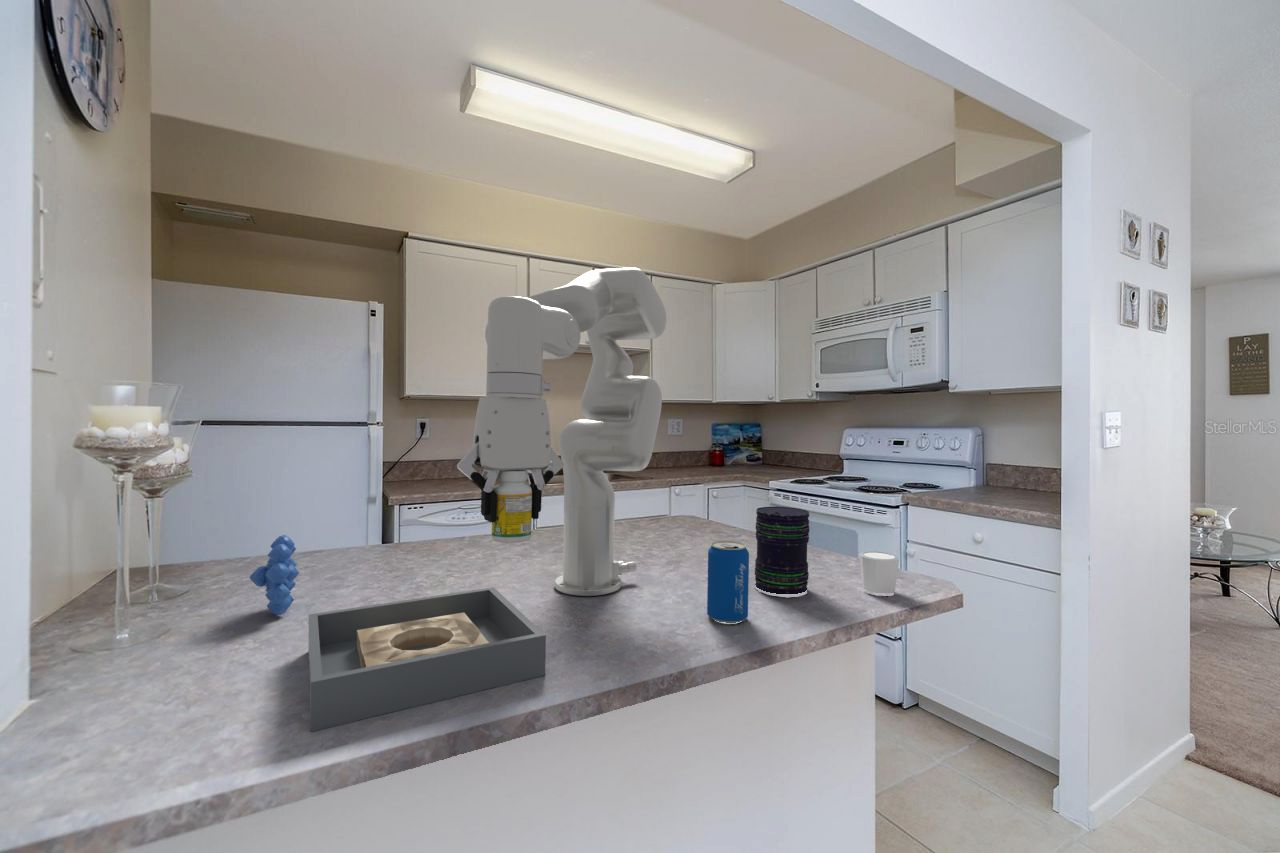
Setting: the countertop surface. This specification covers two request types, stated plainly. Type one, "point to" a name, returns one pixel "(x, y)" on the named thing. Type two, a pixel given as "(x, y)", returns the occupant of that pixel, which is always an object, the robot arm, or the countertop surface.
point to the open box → (420, 680)
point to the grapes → (278, 575)
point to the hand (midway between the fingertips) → (511, 517)
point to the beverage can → (728, 581)
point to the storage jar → (782, 550)
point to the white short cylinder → (878, 571)
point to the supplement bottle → (513, 507)
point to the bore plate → (416, 639)
